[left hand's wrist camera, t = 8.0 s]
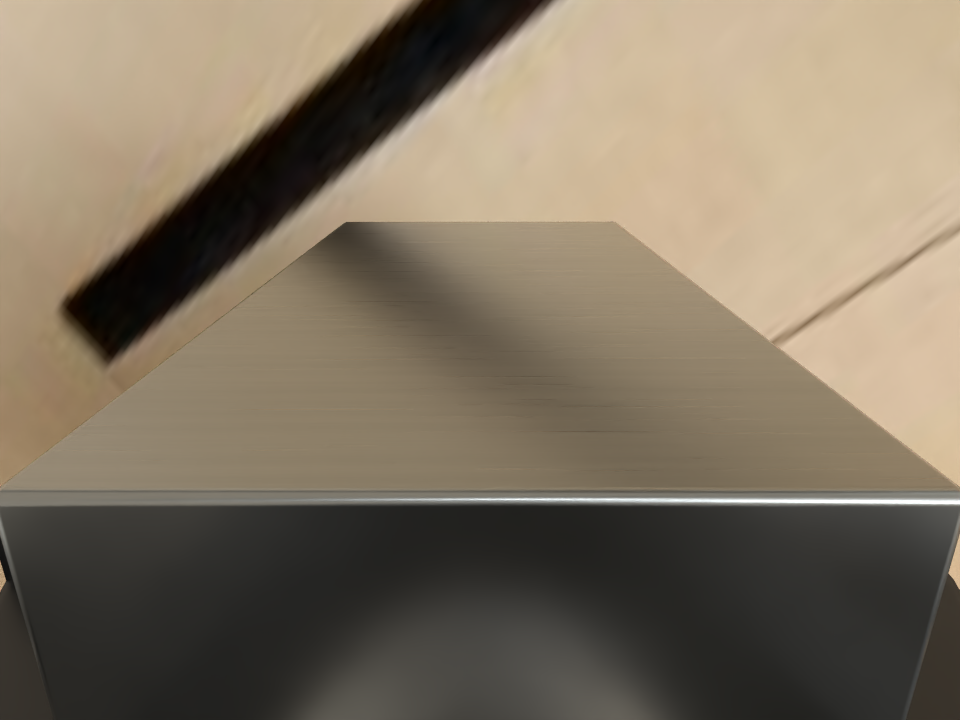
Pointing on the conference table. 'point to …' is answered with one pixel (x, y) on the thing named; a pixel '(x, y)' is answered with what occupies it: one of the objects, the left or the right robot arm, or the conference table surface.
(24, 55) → the conference table surface
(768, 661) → the box
